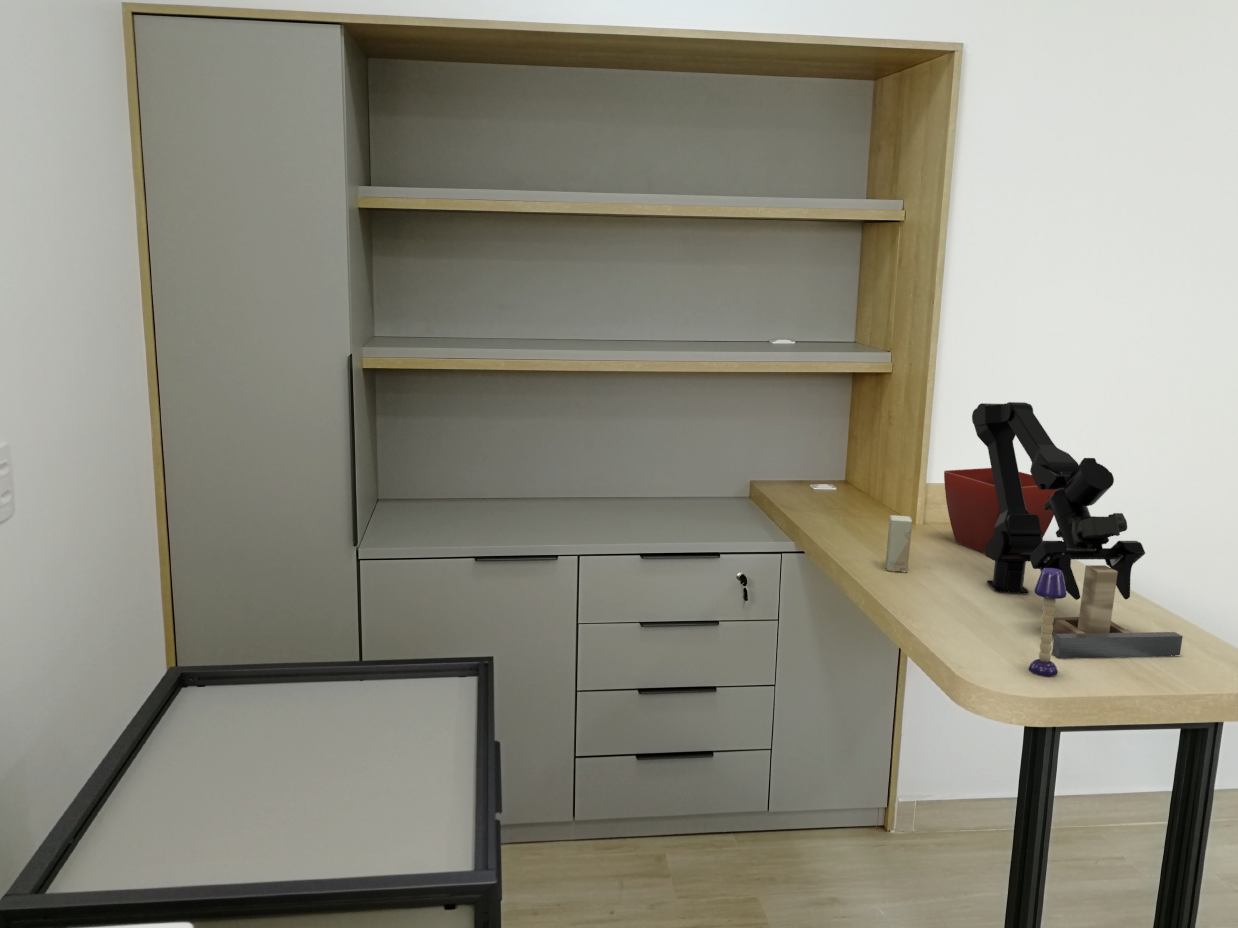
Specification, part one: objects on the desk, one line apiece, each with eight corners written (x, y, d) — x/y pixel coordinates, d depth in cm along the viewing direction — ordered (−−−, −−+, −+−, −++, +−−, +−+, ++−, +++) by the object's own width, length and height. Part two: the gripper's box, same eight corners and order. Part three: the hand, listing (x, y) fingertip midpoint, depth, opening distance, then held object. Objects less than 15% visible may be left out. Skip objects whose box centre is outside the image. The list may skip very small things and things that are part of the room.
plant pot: (1058, 555, 233) (1067, 483, 230) (996, 563, 224) (1005, 488, 221) (994, 534, 250) (1002, 466, 246) (934, 540, 241) (941, 470, 238)
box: (907, 573, 214) (912, 521, 212) (886, 571, 215) (891, 519, 213) (905, 566, 219) (910, 515, 217) (885, 564, 220) (889, 514, 218)
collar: (1049, 630, 182) (1051, 617, 182) (1101, 629, 184) (1102, 616, 183) (1082, 651, 173) (1084, 637, 172) (1136, 650, 174) (1138, 636, 174)
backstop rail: (1051, 653, 171) (1054, 633, 170) (1171, 651, 174) (1174, 631, 174) (1058, 658, 169) (1061, 638, 168) (1179, 655, 172) (1182, 636, 172)
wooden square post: (1076, 636, 180) (1085, 565, 177) (1095, 636, 180) (1104, 565, 178) (1088, 644, 176) (1098, 571, 174) (1107, 644, 177) (1117, 571, 174)
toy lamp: (1024, 672, 162) (1036, 571, 159) (1025, 663, 166) (1037, 563, 163) (1057, 678, 160) (1070, 576, 157) (1057, 668, 165) (1070, 568, 161)
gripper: (1046, 495, 176) (1076, 576, 167) (1146, 496, 179) (1179, 576, 170) (1017, 528, 185) (1043, 606, 177) (1112, 528, 188) (1142, 605, 179)
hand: (1102, 598), depth 175 cm, fingers open, 9 cm apart
